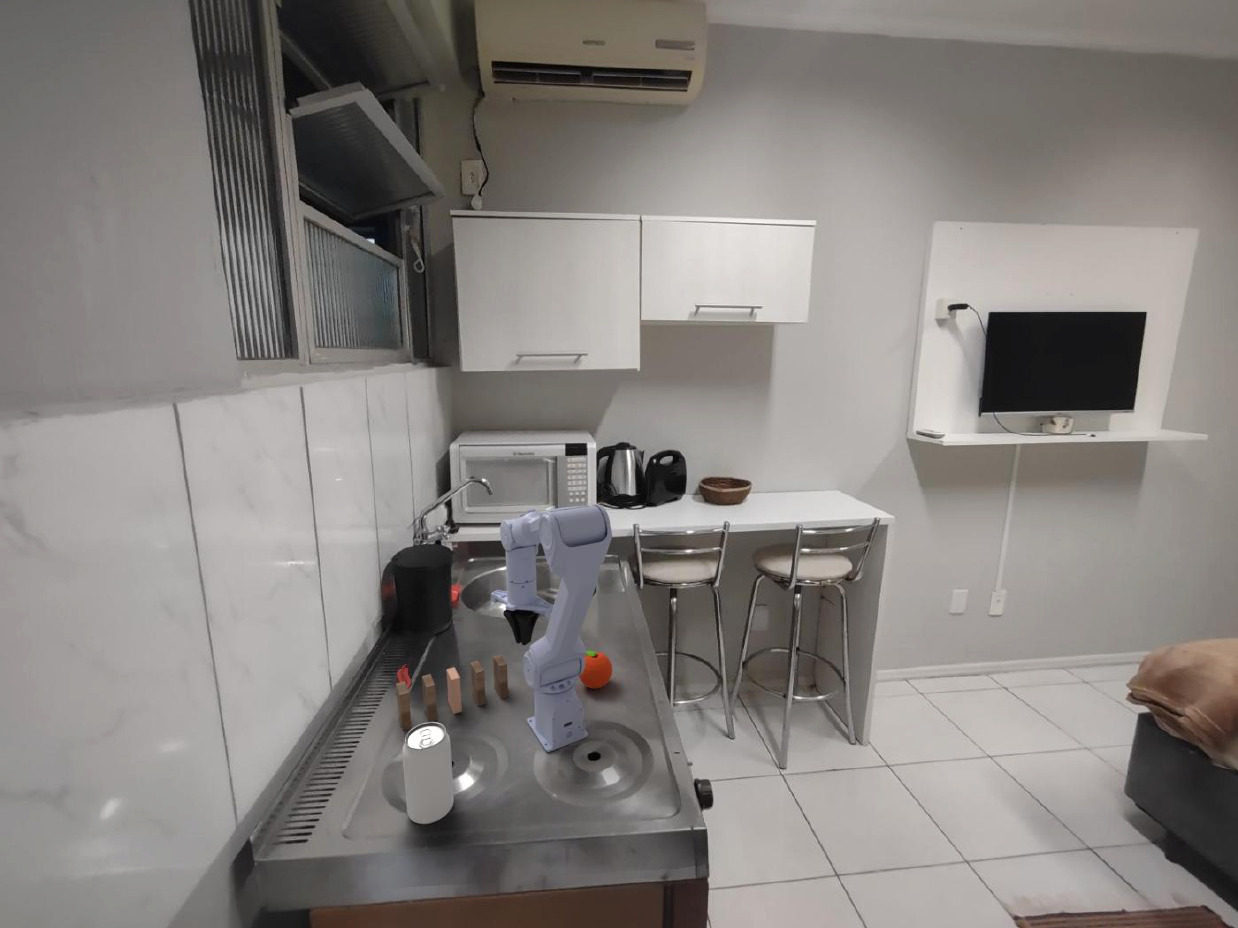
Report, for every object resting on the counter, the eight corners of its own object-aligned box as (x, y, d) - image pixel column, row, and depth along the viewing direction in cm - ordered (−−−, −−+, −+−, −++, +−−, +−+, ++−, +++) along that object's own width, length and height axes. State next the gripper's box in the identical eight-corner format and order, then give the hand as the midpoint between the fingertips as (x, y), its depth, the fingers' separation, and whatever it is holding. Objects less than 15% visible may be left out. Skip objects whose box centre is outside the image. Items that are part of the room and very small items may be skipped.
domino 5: (508, 696, 105) (506, 663, 103) (500, 698, 104) (499, 666, 102) (501, 686, 108) (500, 654, 107) (494, 688, 107) (492, 656, 106)
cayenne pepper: (403, 698, 104) (403, 689, 104) (380, 698, 104) (379, 689, 104) (425, 664, 116) (425, 656, 116) (404, 664, 116) (403, 656, 116)
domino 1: (411, 727, 95) (408, 692, 94) (402, 730, 95) (399, 695, 93) (407, 715, 99) (404, 681, 98) (398, 717, 98) (396, 683, 97)
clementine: (567, 685, 108) (566, 653, 107) (589, 670, 114) (589, 639, 112) (597, 700, 103) (597, 666, 102) (619, 683, 109) (619, 651, 108)
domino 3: (461, 711, 100) (459, 677, 99) (453, 713, 99) (451, 679, 98) (456, 700, 103) (454, 667, 102) (448, 702, 103) (446, 669, 101)
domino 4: (485, 703, 102) (484, 670, 101) (477, 706, 101) (476, 672, 100) (479, 692, 106) (477, 660, 104) (472, 695, 105) (470, 662, 104)
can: (408, 832, 74) (402, 756, 72) (406, 798, 80) (400, 726, 78) (456, 817, 77) (452, 742, 74) (451, 785, 82) (447, 715, 80)
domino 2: (437, 719, 98) (435, 684, 96) (428, 722, 97) (426, 687, 96) (432, 707, 101) (430, 673, 100) (424, 710, 100) (422, 676, 99)
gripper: (479, 577, 104) (482, 641, 107) (538, 592, 97) (540, 661, 100) (503, 566, 110) (505, 626, 113) (560, 579, 103) (562, 644, 106)
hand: (523, 641), depth 107 cm, fingers closed
